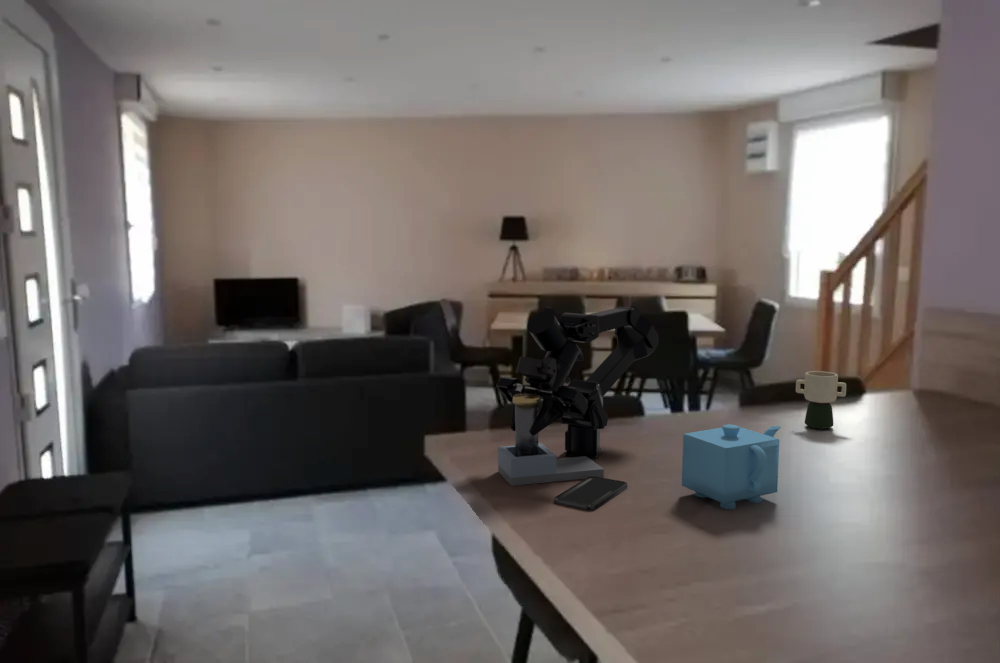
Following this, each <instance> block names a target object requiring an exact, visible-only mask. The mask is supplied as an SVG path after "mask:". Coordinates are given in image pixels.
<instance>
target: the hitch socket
mask: <svg viewBox="0 0 1000 663" xmlns="http://www.w3.org/2000/svg"><path fill="white" fill-rule="evenodd" d="M497 472H498V473H499V475H501V477H503V478H504V480H505V481H506V482H507V483H508V485H510V486H511V487H513V486H522V485H532V484H542V483H543V484H544V483H553V482H561V481H562V482H564V481H572V480H573V481H574V480H584V479H586V478H588V477H590V476H597V477H602V478H605V477H604V476H605V475H604V474H605V468H603V467H602V466H600V465H599V464H598V463H596V462H595V461H594V460H593V459H592V458H588V457H587V456H581V457H574V456H569V457H561V458H557V454H556V453H554V452H553V451H552V450H550V448H548V447H546V446H545V444H543V443H542V442H538V455H533V456H522V457H515V444H514V445H513V444H512V445H503V446H501V445H500V446H497Z"/></svg>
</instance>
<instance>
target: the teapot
mask: <svg viewBox="0 0 1000 663" xmlns="http://www.w3.org/2000/svg"><path fill="white" fill-rule="evenodd" d="M781 428H782V427H781V426H779V425H775V426H770V427H768V428H767V429H766V430H765V431H764V433H761V432H758V431H754V430H750V429H749V428H748V429H747V428H744V427H741V426H739V425H735V424H728V423H727V424H723V425H722V426H721V427H719V428H718V427H717V428H716V427H715V428H711V429H705V430H698V431H692V432H688V433H687V432H686V433H684V434H682V459H681V460H682V461H681V463H682V464H681V486H682V487H684V488H686V489H689V490H691V491H694V492H695V493H694V496H695V497H698V498H702V499H703V498H704V499H705V498H709V499H712V500H713V501H716V502H718V503H720V505H719V507H721V508H722V509H725V510H734V509H736V508H737V507H736V502H740V501H742V500H743V501H744V500H747V501H748V502H750V503H753V504H754V503H756V504H759V503H763V502H764V500H763V498H762V496H766V495H771V494H774V493H778V484H779V483H778V480H779V463H780V462H779V458H780V439H779V438H777V437H775V435H776V434H777V432H778V431H779V430H780V429H781Z"/></svg>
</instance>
